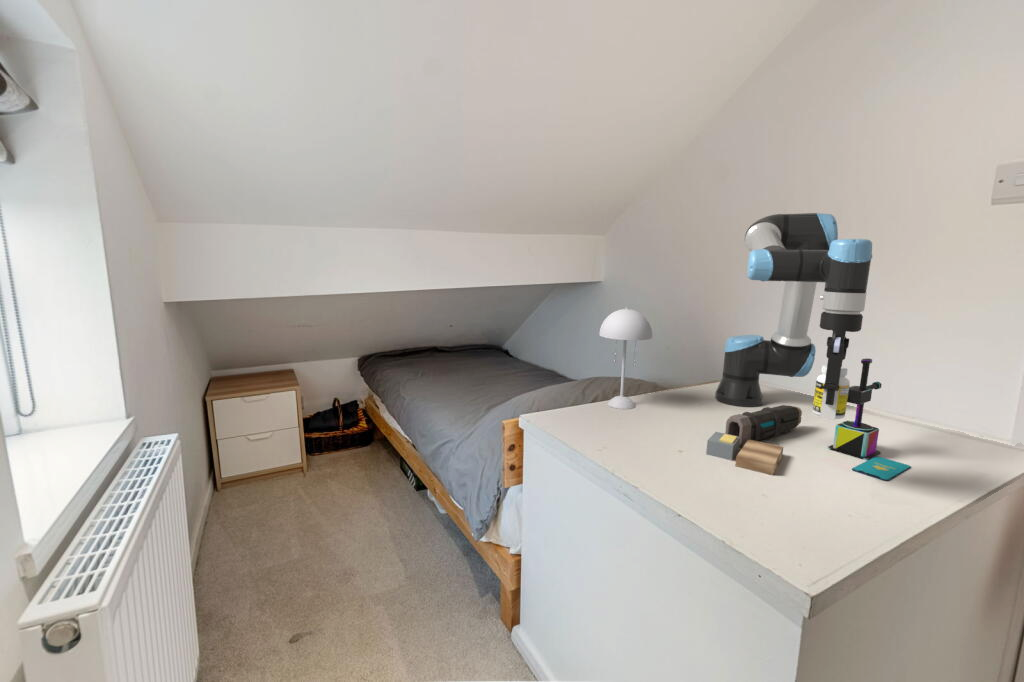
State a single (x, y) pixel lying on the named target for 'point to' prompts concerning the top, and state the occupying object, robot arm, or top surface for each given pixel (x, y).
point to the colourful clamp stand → (858, 422)
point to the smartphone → (881, 468)
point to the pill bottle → (842, 393)
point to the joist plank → (759, 456)
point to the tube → (763, 423)
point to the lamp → (625, 342)
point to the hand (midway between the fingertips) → (828, 413)
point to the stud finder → (723, 445)
